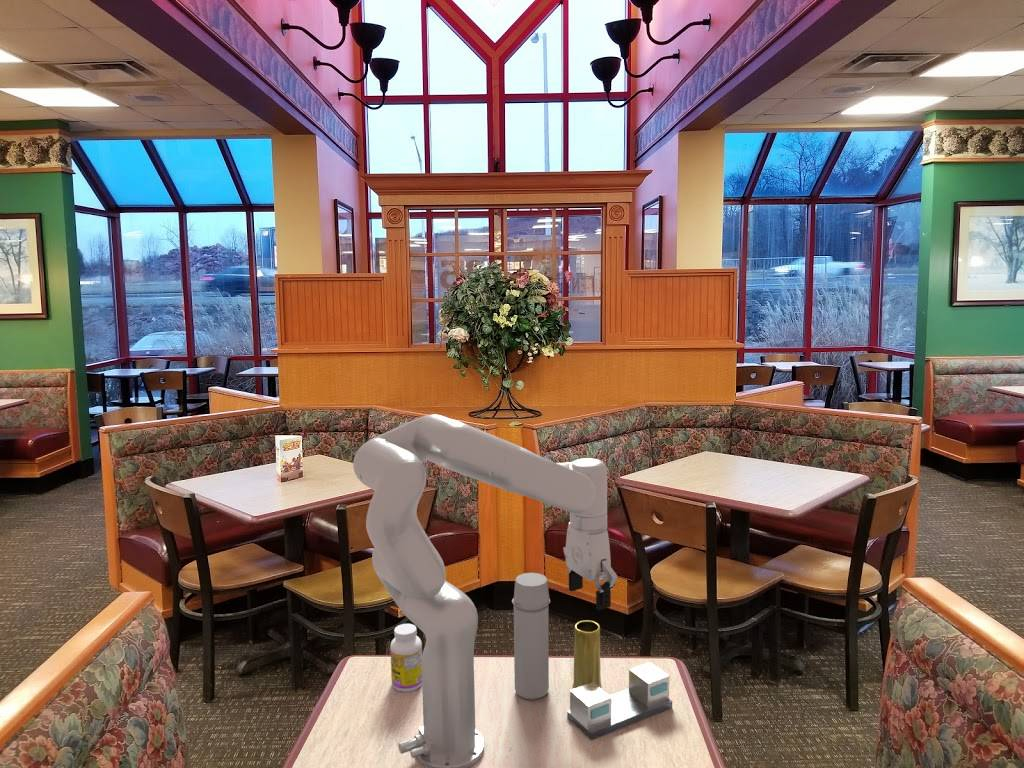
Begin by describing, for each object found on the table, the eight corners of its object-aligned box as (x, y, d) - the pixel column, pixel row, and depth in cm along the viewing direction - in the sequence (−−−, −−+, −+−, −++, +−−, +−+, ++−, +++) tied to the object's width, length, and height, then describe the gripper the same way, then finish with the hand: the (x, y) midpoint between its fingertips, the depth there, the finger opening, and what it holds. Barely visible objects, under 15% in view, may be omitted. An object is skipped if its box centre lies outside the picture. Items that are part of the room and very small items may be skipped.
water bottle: (551, 701, 150) (551, 587, 146) (513, 702, 150) (511, 587, 146) (549, 676, 159) (548, 568, 155) (513, 676, 159) (511, 568, 155)
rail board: (590, 740, 138) (591, 708, 137) (567, 717, 145) (567, 687, 144) (672, 707, 147) (672, 678, 146) (646, 688, 154) (646, 659, 153)
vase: (601, 681, 157) (601, 619, 154) (601, 698, 151) (602, 634, 148) (572, 680, 157) (572, 618, 155) (572, 697, 151) (572, 633, 149)
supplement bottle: (388, 680, 158) (385, 625, 156) (417, 672, 161) (415, 618, 159) (396, 696, 152) (394, 639, 150) (427, 688, 155) (425, 632, 153)
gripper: (549, 511, 154) (551, 587, 157) (598, 537, 139) (599, 621, 142) (579, 504, 157) (580, 578, 160) (630, 529, 142) (630, 611, 145)
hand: (589, 598), depth 151 cm, fingers open, 9 cm apart
